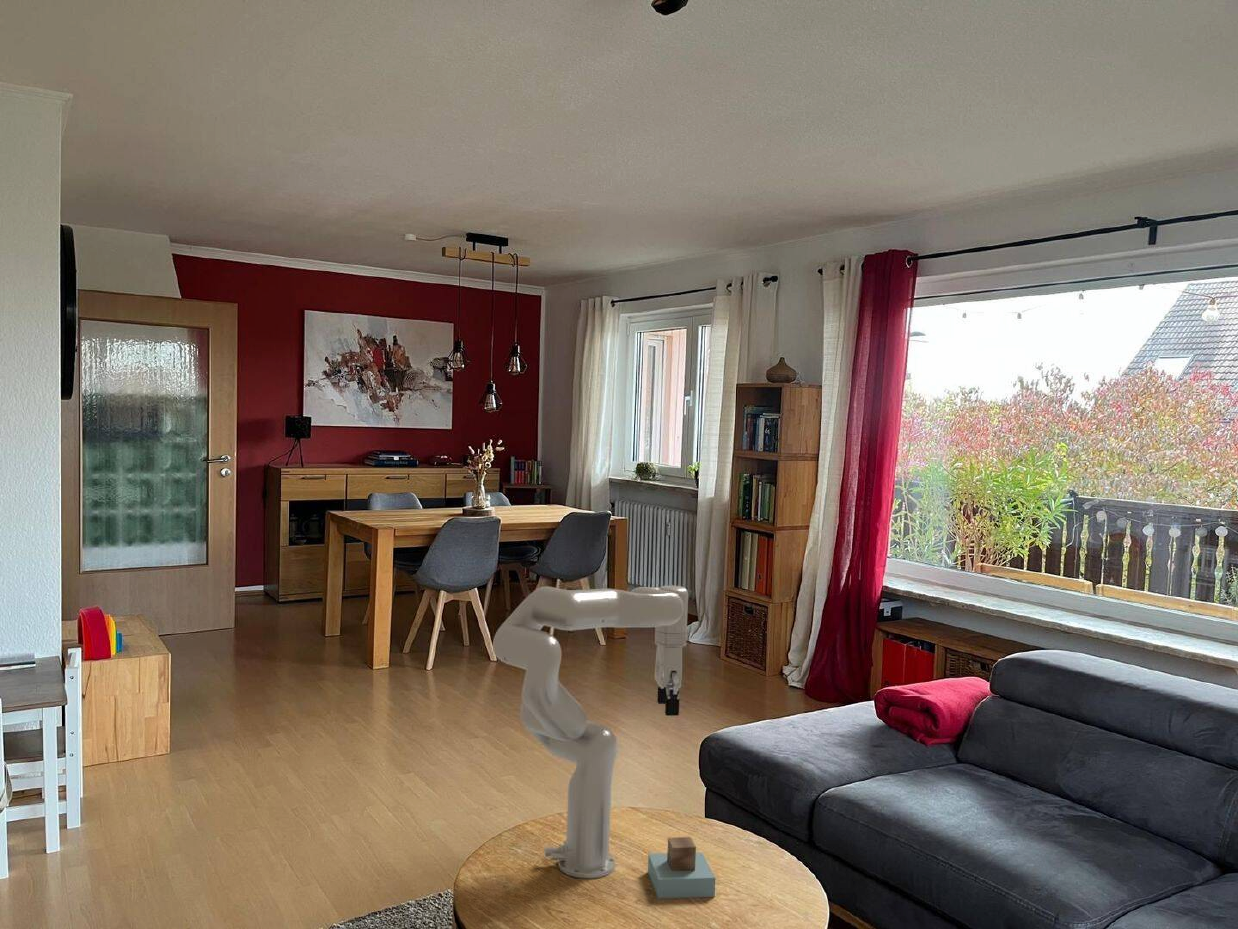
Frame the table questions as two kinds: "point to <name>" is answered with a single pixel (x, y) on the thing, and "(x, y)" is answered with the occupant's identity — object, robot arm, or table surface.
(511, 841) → the table surface
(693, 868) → the walnut cube
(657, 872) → the plinth block
